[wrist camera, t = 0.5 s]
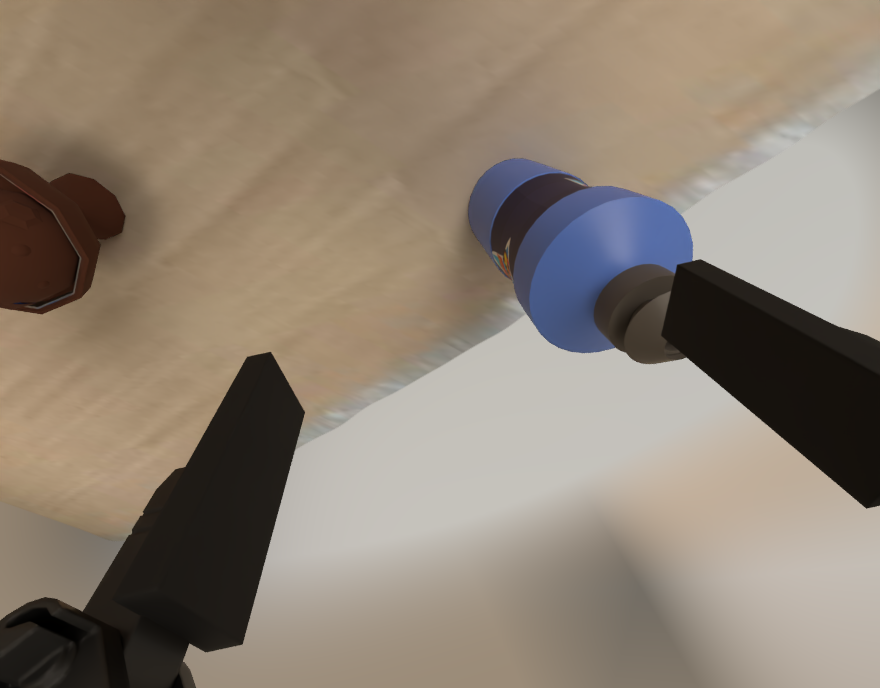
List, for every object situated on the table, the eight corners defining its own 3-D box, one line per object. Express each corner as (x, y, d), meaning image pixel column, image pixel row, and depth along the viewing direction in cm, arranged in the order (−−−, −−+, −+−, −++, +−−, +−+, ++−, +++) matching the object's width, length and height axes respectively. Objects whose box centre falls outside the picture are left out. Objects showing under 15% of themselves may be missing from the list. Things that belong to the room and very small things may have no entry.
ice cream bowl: (4, 229, 31) (-251, 306, 19) (16, 103, 27) (-307, 95, 14) (142, 287, 35) (9, 381, 23) (172, 186, 31) (26, 236, 19)
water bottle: (527, 132, 32) (780, 170, 11) (573, 213, 37) (814, 344, 16) (448, 203, 35) (536, 340, 14) (500, 270, 39) (626, 449, 18)
